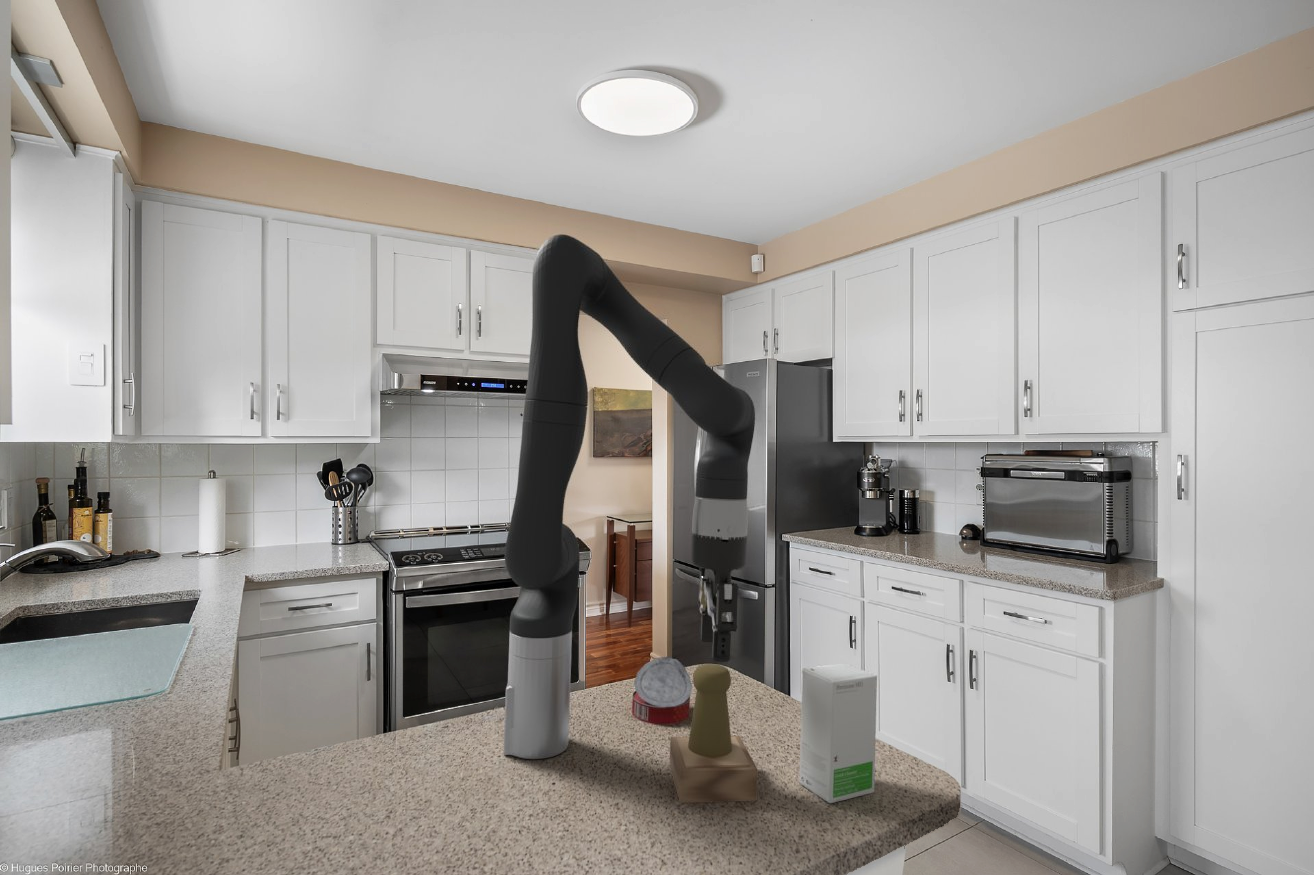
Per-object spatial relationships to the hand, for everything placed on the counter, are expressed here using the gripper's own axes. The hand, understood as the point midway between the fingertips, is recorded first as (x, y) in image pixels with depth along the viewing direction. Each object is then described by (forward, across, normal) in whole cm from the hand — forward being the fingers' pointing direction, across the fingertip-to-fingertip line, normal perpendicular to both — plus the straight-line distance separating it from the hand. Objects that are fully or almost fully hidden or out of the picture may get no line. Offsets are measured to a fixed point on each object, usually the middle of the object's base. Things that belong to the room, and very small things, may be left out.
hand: (714, 650), depth 91 cm
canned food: (+18, -24, -4) cm, 30 cm away
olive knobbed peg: (+14, -1, 0) cm, 14 cm away
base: (+18, 0, 0) cm, 18 cm away
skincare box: (+18, +2, +17) cm, 25 cm away
